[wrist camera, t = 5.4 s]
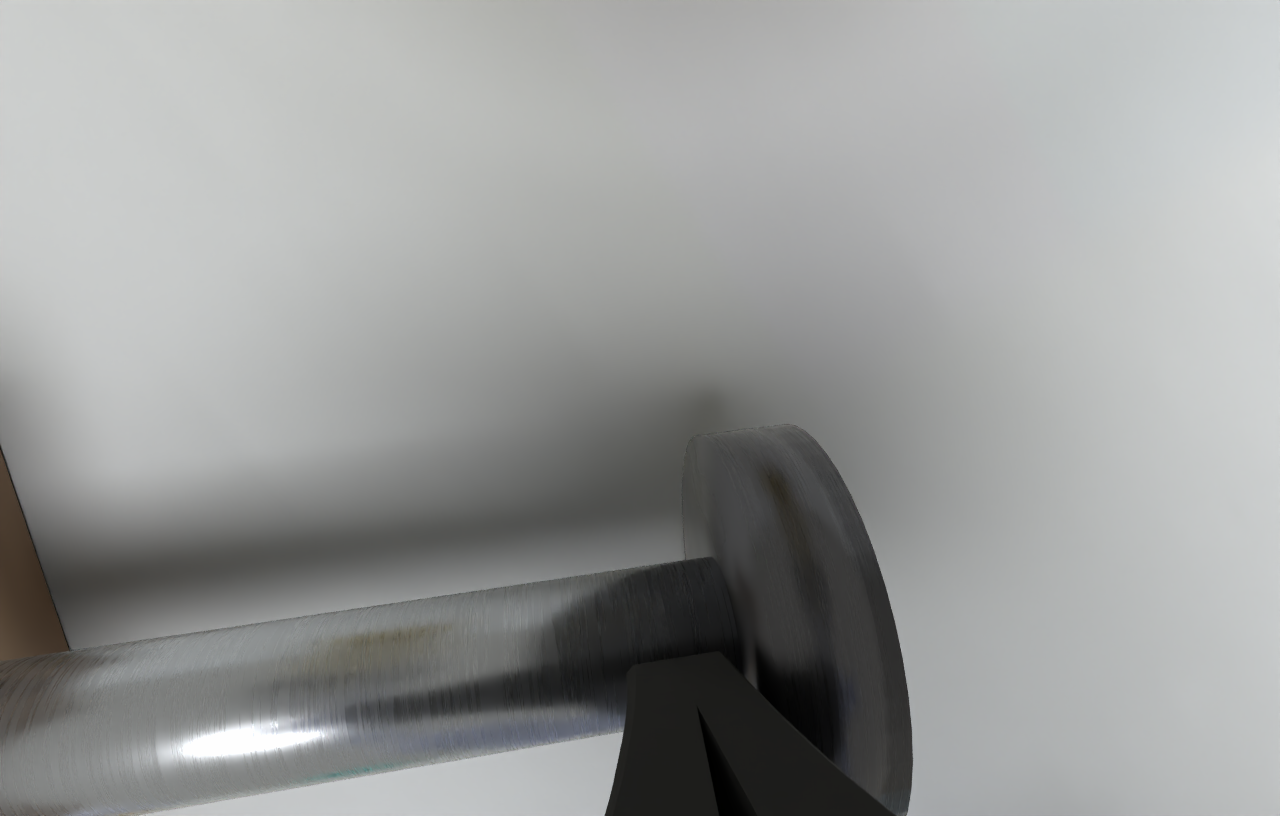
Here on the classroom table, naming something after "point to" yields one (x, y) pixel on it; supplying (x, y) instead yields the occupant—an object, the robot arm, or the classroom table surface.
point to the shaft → (489, 661)
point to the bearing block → (23, 586)
